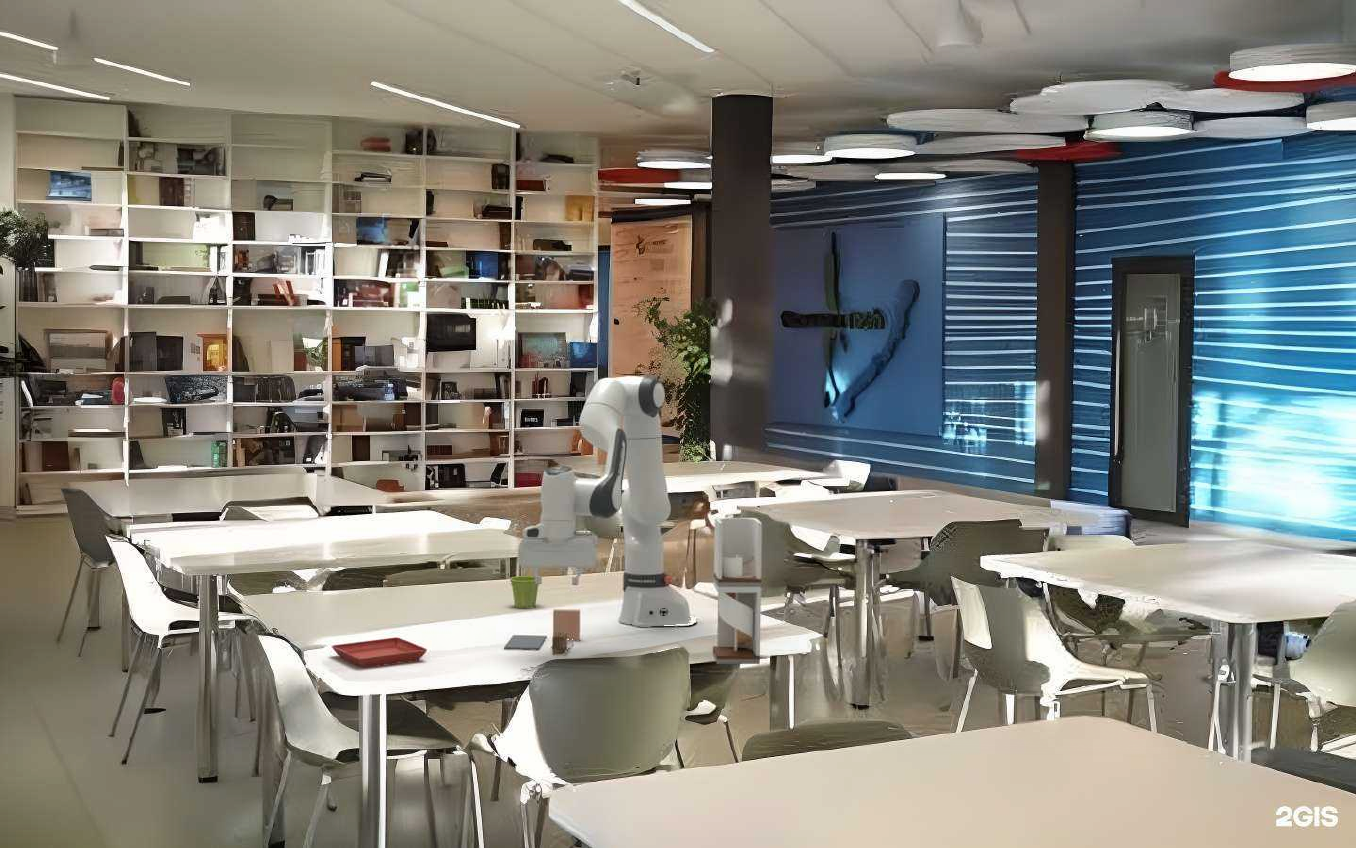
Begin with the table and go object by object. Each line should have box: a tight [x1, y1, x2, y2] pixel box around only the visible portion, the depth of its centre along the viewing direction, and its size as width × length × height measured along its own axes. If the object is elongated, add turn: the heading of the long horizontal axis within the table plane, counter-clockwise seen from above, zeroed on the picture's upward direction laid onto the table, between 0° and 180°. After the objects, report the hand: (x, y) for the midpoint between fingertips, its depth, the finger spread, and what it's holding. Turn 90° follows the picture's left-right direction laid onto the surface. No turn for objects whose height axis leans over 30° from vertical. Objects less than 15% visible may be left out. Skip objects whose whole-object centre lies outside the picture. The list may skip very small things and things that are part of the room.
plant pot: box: [509, 575, 540, 609], centre depth 416 cm, size 9×9×9 cm
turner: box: [550, 632, 574, 655], centre depth 355 cm, size 5×13×4 cm, turn 178°
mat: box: [503, 634, 548, 651], centre depth 361 cm, size 9×16×1 cm, turn 178°
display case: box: [712, 517, 763, 665], centre depth 345 cm, size 11×11×35 cm
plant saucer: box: [331, 637, 428, 668], centre depth 341 cm, size 18×18×3 cm
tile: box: [552, 608, 581, 641], centre depth 367 cm, size 7×2×8 cm, turn 88°
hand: (556, 584), depth 351 cm, fingers open, 8 cm apart
